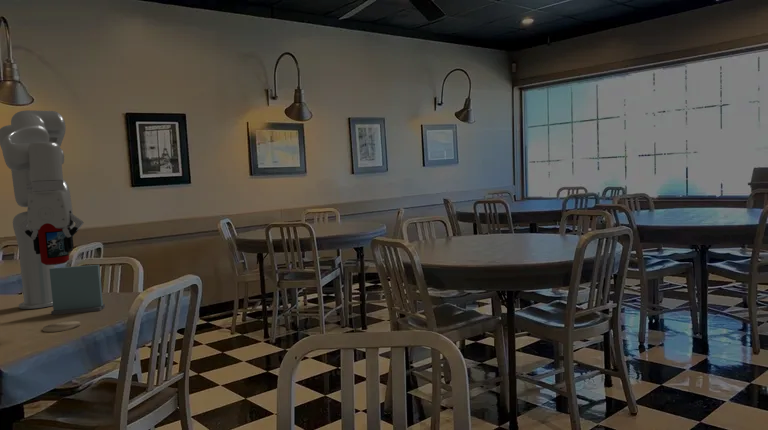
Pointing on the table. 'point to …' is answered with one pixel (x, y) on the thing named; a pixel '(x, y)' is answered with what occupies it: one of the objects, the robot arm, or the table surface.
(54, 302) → the screen
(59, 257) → the beverage can
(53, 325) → the coaster
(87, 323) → the table surface
